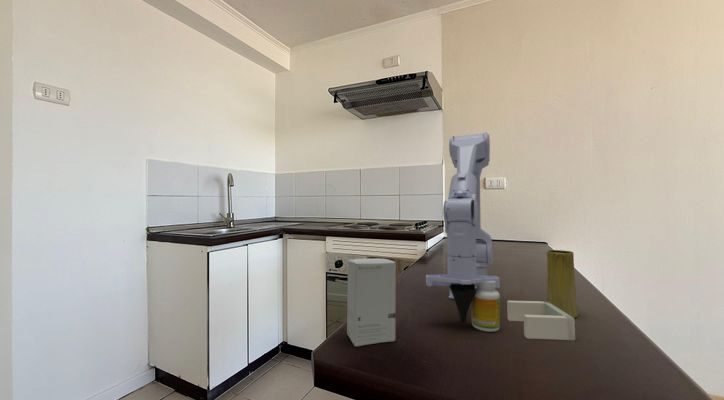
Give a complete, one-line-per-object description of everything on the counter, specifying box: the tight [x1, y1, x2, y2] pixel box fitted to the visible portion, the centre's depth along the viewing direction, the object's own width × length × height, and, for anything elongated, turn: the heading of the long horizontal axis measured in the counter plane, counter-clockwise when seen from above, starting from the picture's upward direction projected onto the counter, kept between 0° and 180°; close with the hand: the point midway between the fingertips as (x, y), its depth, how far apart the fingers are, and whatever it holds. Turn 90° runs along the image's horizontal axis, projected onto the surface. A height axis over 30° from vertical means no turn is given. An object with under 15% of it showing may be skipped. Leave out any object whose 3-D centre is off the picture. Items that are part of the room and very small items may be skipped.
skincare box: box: [346, 257, 397, 348], centre depth 57 cm, size 8×6×15 cm
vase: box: [546, 249, 579, 319], centre depth 69 cm, size 6×6×14 cm
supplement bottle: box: [471, 281, 501, 333], centre depth 62 cm, size 5×5×10 cm
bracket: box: [506, 300, 576, 341], centre depth 60 cm, size 8×10×4 cm
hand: (462, 321), depth 62 cm, fingers closed
